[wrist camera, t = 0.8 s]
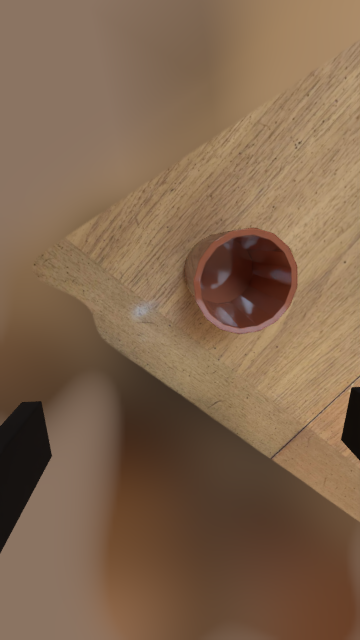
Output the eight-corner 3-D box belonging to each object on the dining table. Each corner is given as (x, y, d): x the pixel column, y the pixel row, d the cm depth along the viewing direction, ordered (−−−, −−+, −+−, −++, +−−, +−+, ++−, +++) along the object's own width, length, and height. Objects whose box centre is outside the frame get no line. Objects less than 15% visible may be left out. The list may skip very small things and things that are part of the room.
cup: (170, 277, 29) (173, 294, 20) (214, 218, 28) (241, 204, 18) (223, 318, 31) (250, 351, 21) (268, 263, 29) (318, 273, 20)
